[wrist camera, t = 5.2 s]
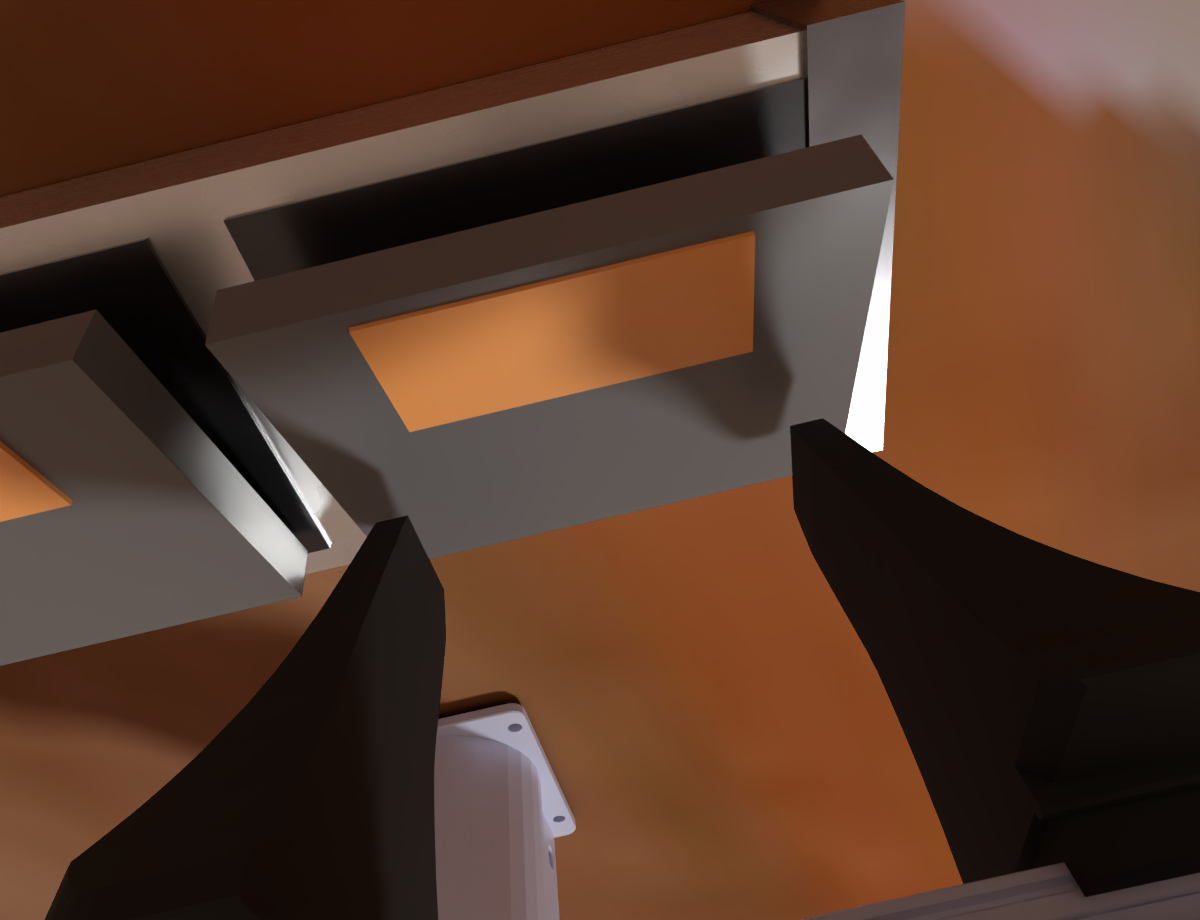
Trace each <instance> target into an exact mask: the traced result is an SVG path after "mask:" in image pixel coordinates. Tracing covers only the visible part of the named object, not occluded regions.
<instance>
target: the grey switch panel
mask: <svg viewBox="0 0 1200 920" xmlns="http://www.w3.org/2000/svg"><path fill="white" fill-rule="evenodd" d="M904 15H905V1H902V0H771V1H767V2H762V3H758V4H754V5H751V11H750V12H746V13H742V14H738V15H734V16H730V17H726V18H722V19H718V20H714V21H710V22H706V23H702V24H698V25H694V26H689V27H685V28H681V29H677V30H673V31H669V32H665V33H661V34H657V35H653V36H649V37H645V38H641V39H637V40H633V41H629V42H625V43H621V44H617V45H613V46H609V47H605V48H601V49H596V50H592V51H588V52H584V53H580V54H576V55H572V56H568V57H564V58H560V59H556V60H552V61H548V62H544V63H540V64H536V65H532V66H528V67H524V68H520V69H516V70H512V71H508V72H503V73H499V74H495V75H491V76H487V77H483V78H479V79H475V80H471V81H467V82H463V83H459V84H455V85H451V86H447V87H443V88H439V89H435V90H431V91H427V92H423V93H419V94H415V95H410V96H406V97H402V98H398V99H394V100H390V101H386V102H382V103H378V104H374V105H370V106H366V107H362V108H358V109H354V110H350V111H346V112H342V113H338V114H334V115H330V116H326V117H322V118H317V119H313V120H309V121H305V122H301V123H297V124H293V125H289V126H285V127H281V128H277V129H273V130H269V131H265V132H261V133H257V134H253V135H249V136H245V137H241V138H237V139H233V140H229V141H224V142H220V143H216V144H212V145H208V146H204V147H200V148H196V149H192V150H188V151H184V152H180V153H176V154H172V155H168V156H164V157H160V158H156V159H152V160H148V161H144V162H140V163H135V164H131V165H127V166H123V167H119V168H115V169H111V170H107V171H103V172H99V173H95V174H91V175H87V176H83V177H79V178H75V179H71V180H67V181H63V182H59V183H55V184H51V185H47V186H42V187H38V188H34V189H30V190H26V191H22V192H18V193H14V194H10V195H6V196H2V197H0V333H1V332H5V331H9V330H14V329H18V328H22V327H26V326H30V325H34V324H38V323H42V322H47V321H51V320H55V319H59V318H63V317H67V316H71V315H75V314H80V313H84V312H88V311H92V310H97V311H98V312H99V313H100V314H101V315H102V317H103V318H104V319H105V320H106V321H107V322H108V323H109V325H110V326H111V327H112V328H113V329H114V330H115V331H116V333H117V334H118V335H119V336H120V337H121V338H122V339H123V341H124V342H125V343H126V344H127V345H128V346H129V347H130V349H131V350H132V351H133V352H134V353H135V354H136V355H137V357H138V358H139V359H140V360H141V361H142V362H143V363H144V365H145V366H146V367H147V368H148V369H149V370H150V371H151V373H152V374H153V375H154V376H155V377H156V378H157V379H158V381H159V382H160V383H161V384H162V385H163V386H164V387H165V389H166V390H167V391H168V392H169V393H170V394H171V395H172V397H173V398H174V399H175V400H176V401H177V402H178V403H179V405H180V406H181V407H182V408H183V409H184V410H185V411H186V413H187V414H188V415H189V416H190V417H191V418H192V419H193V421H194V422H195V423H196V424H197V425H198V426H199V427H200V429H201V430H202V431H203V432H204V433H205V434H206V435H207V437H208V438H209V439H210V440H211V441H212V442H213V443H214V444H215V446H216V447H217V448H218V449H219V450H220V451H221V452H222V454H223V455H224V456H225V457H226V458H227V459H228V460H229V462H230V463H231V464H232V465H233V466H234V467H235V468H236V470H237V471H238V472H239V473H240V474H241V475H242V476H243V478H244V479H245V480H246V481H247V482H248V483H249V484H250V486H251V487H252V488H253V489H254V490H255V491H256V492H257V494H258V495H259V496H260V497H261V498H262V499H263V500H264V502H265V503H266V504H267V505H268V506H269V507H270V508H271V510H272V511H273V512H274V513H275V514H276V515H277V516H278V518H279V519H280V520H281V521H282V522H283V523H284V524H285V526H286V527H287V528H288V529H289V530H290V531H291V532H292V534H293V535H294V536H295V537H296V538H297V539H298V540H299V542H300V543H301V544H302V545H303V546H304V547H305V548H306V550H307V551H308V552H307V560H306V568H305V574H309V573H313V572H317V571H322V570H326V569H330V568H335V567H339V566H343V565H348V564H350V563H351V562H352V560H353V558H354V557H355V555H356V553H357V552H358V550H359V549H360V547H361V545H362V544H363V542H364V541H365V539H366V537H367V536H366V535H365V534H364V533H363V532H362V531H361V529H360V528H359V527H358V526H357V525H356V523H355V522H354V521H353V520H352V519H351V517H350V516H349V515H348V514H347V513H346V512H345V510H344V509H343V508H342V507H341V506H340V504H339V503H338V502H337V501H336V500H335V498H334V497H333V496H332V495H331V494H330V493H329V491H328V490H327V489H326V488H325V487H324V485H323V484H322V483H321V482H320V481H319V479H318V478H317V477H316V476H315V475H314V474H313V472H312V471H311V470H310V469H309V468H308V466H307V465H306V464H305V463H304V462H303V461H302V459H301V458H300V457H299V456H298V455H297V453H296V452H295V451H294V450H293V449H292V447H291V446H290V445H289V444H288V443H287V442H286V440H285V439H284V438H283V437H282V436H281V434H280V433H279V432H278V431H277V430H276V428H275V427H274V426H273V425H272V424H271V423H270V421H269V420H268V419H267V418H266V417H265V415H264V414H263V413H262V412H261V411H260V409H259V408H258V407H257V406H256V405H255V404H254V402H253V401H252V400H251V399H250V398H249V396H248V395H247V394H246V393H245V392H244V390H243V389H242V388H241V387H240V386H239V385H238V383H237V382H236V381H235V380H234V379H233V377H232V376H231V375H230V374H229V373H228V372H227V370H226V369H225V368H224V367H223V366H222V364H221V363H220V362H219V361H218V360H217V358H216V357H215V356H214V355H213V354H212V353H211V351H210V350H209V349H208V348H207V347H206V345H205V343H206V338H207V334H208V329H209V324H210V320H211V315H212V311H213V306H214V302H215V297H216V292H217V290H220V289H224V288H228V287H232V286H236V285H240V284H245V283H249V282H253V281H257V280H261V279H265V278H269V277H274V276H278V275H282V274H286V273H290V272H294V271H298V270H302V269H307V268H311V267H315V266H319V265H323V264H327V263H331V262H336V261H340V260H344V259H348V258H352V257H356V256H360V255H364V254H369V253H373V252H377V251H381V250H385V249H389V248H393V247H397V246H402V245H406V244H410V243H414V242H418V241H422V240H426V239H431V238H435V237H439V236H443V235H447V234H451V233H455V232H459V231H464V230H468V229H472V228H476V227H480V226H484V225H488V224H493V223H497V222H501V221H505V220H509V219H513V218H517V217H521V216H526V215H530V214H534V213H538V212H542V211H546V210H550V209H555V208H559V207H563V206H567V205H571V204H575V203H579V202H583V201H588V200H592V199H596V198H600V197H604V196H608V195H612V194H616V193H621V192H625V191H629V190H633V189H637V188H641V187H645V186H650V185H654V184H658V183H662V182H666V181H670V180H674V179H678V178H683V177H687V176H691V175H695V174H699V173H703V172H707V171H712V170H716V169H720V168H724V167H728V166H732V165H736V164H740V163H745V162H749V161H753V160H757V159H761V158H765V157H769V156H773V155H778V154H782V153H786V152H790V151H794V150H798V149H802V148H807V147H811V146H815V145H819V144H823V143H827V142H831V141H835V140H840V139H844V138H848V137H852V136H856V135H860V134H861V135H862V136H863V137H864V139H865V140H866V141H867V143H868V144H869V146H870V147H871V148H872V150H873V151H874V152H875V154H876V155H877V157H878V158H879V159H880V161H881V162H882V164H883V165H884V166H885V168H886V169H887V170H888V172H889V173H890V175H891V176H892V177H893V179H894V182H893V187H892V192H891V197H890V203H889V208H888V213H887V218H886V223H885V229H884V234H883V239H882V244H881V249H880V255H879V260H878V265H877V270H876V275H875V281H874V286H873V291H872V296H871V301H870V306H869V312H868V317H867V322H866V327H865V332H864V338H863V343H862V348H861V353H860V358H859V364H858V369H857V374H856V379H855V384H854V389H853V395H852V400H851V405H850V410H849V415H848V421H847V426H846V431H845V434H846V435H848V436H849V437H851V438H852V439H853V440H855V441H856V442H858V443H859V444H860V445H862V446H863V447H865V448H866V449H868V450H869V451H871V452H876V451H880V450H883V433H884V413H885V393H886V373H887V353H888V333H889V313H890V294H891V274H892V254H893V234H894V214H895V194H896V174H897V154H898V134H899V114H900V95H901V75H902V55H903V35H904Z"/></svg>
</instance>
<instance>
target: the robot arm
mask: <svg viewBox="0 0 1200 920" xmlns="http://www.w3.org/2000/svg"><path fill="white" fill-rule="evenodd" d="M790 436H791V457H792V477H793V498H794V510H795V512H796V515H797V518H798V520H799V523H800V525H801V528H802V530H803V533H804V535H805V538H806V540H807V542H808V545H809V547H810V550H811V552H812V554H813V556H814V558H815V560H816V562H817V564H818V565H819V567H820V569H821V571H822V572H823V574H824V576H825V578H826V580H827V581H828V583H829V585H830V587H831V589H832V590H833V592H834V594H835V596H836V597H837V599H838V601H839V603H840V604H841V606H842V608H843V610H844V611H845V613H846V615H847V617H848V618H849V620H850V622H851V624H852V625H853V627H854V629H855V631H856V632H857V634H858V636H859V638H860V639H861V641H862V643H863V645H864V646H865V648H866V650H867V652H868V654H869V656H870V658H871V660H872V662H873V664H874V666H875V668H876V669H877V671H878V674H879V676H880V678H881V680H882V683H883V685H884V687H885V690H886V692H887V694H888V696H889V699H890V701H891V703H892V706H893V708H894V710H895V712H896V715H897V717H898V719H899V722H900V724H901V726H902V729H903V731H904V734H905V736H906V738H907V741H908V743H909V746H910V748H911V750H912V753H913V755H914V758H915V760H916V762H917V765H918V767H919V770H920V772H921V775H922V777H923V780H924V782H925V785H926V787H927V790H928V792H929V795H930V797H931V800H932V802H933V805H934V808H935V810H936V813H937V815H938V818H939V820H940V823H941V825H942V828H943V830H944V833H945V836H946V838H947V841H948V844H949V846H950V849H951V852H952V855H953V857H954V860H955V863H956V865H957V868H958V871H959V873H960V876H961V879H962V881H963V884H961V885H957V886H952V887H948V888H943V889H938V890H934V891H929V892H925V893H920V894H915V895H911V896H906V897H902V898H897V899H892V900H888V901H883V902H879V903H874V904H869V905H865V906H860V907H856V908H851V909H846V910H842V911H837V912H833V913H828V914H823V915H819V916H814V917H810V918H805V919H800V920H1200V592H1196V591H1192V590H1188V589H1184V588H1180V587H1176V586H1172V585H1168V584H1164V583H1160V582H1156V581H1152V580H1149V579H1145V578H1142V577H1138V576H1135V575H1132V574H1129V573H1125V572H1122V571H1119V570H1116V569H1112V568H1109V567H1106V566H1102V565H1099V564H1097V563H1094V562H1091V561H1088V560H1085V559H1082V558H1079V557H1076V556H1073V555H1070V554H1068V553H1065V552H1063V551H1060V550H1057V549H1055V548H1052V547H1049V546H1047V545H1044V544H1042V543H1039V542H1036V541H1034V540H1031V539H1029V538H1027V537H1024V536H1022V535H1019V534H1017V533H1015V532H1012V531H1010V530H1008V529H1006V528H1004V527H1002V526H999V525H997V524H995V523H993V522H991V521H989V520H987V519H984V518H982V517H980V516H978V515H976V514H974V513H972V512H970V511H968V510H966V509H964V508H962V507H960V506H958V505H956V504H955V503H953V502H951V501H949V500H947V499H946V498H944V497H942V496H940V495H939V494H937V493H935V492H933V491H931V490H930V489H928V488H926V487H924V486H923V485H921V484H920V483H918V482H916V481H915V480H913V479H912V478H910V477H908V476H907V475H905V474H904V473H902V472H901V471H899V470H898V469H896V468H894V467H893V466H891V465H890V464H888V463H887V462H885V461H884V460H882V459H881V458H879V457H878V456H876V455H875V454H873V453H872V452H871V451H869V450H868V449H866V448H865V447H863V446H862V445H860V444H859V443H858V442H856V441H855V440H853V439H852V438H851V437H849V436H848V435H846V434H845V433H844V432H842V431H841V430H839V429H838V428H836V427H835V426H834V425H832V424H831V423H829V422H828V421H826V420H825V419H823V418H822V419H817V420H813V421H809V422H804V423H800V424H796V425H792V426H790ZM445 643H446V625H445V601H444V589H443V587H442V585H441V583H440V581H439V578H438V576H437V574H436V572H435V570H434V568H433V566H432V564H431V562H430V560H429V558H428V556H427V554H426V552H425V550H424V548H423V546H422V544H421V541H420V539H419V537H418V535H417V533H416V531H415V529H414V527H413V525H412V523H411V521H410V519H409V517H408V515H407V516H402V517H398V518H394V519H389V520H385V521H381V522H377V523H375V525H374V527H373V528H372V530H371V531H370V533H369V534H368V536H367V537H366V539H365V541H364V542H363V544H362V545H361V547H360V549H359V550H358V552H357V553H356V555H355V557H354V558H353V560H352V562H351V563H350V565H349V566H348V568H347V570H346V571H345V573H344V574H343V576H342V578H341V579H340V581H339V582H338V584H337V586H336V587H335V589H334V590H333V592H332V593H331V595H330V596H329V598H328V599H327V601H326V602H325V604H324V606H323V607H322V609H321V610H320V612H319V613H318V614H317V616H316V617H315V619H314V620H313V621H312V623H311V624H310V626H309V627H308V628H307V630H306V631H305V633H304V634H303V635H302V637H301V638H300V640H299V641H298V642H297V644H296V645H295V647H294V648H293V649H292V651H291V652H290V653H289V655H288V656H287V657H286V659H285V660H284V661H283V662H282V664H281V665H280V666H279V667H278V669H277V670H276V671H275V672H274V674H273V675H272V676H271V677H270V678H269V680H268V681H267V682H266V683H265V684H264V685H263V687H262V688H261V689H260V690H259V691H258V692H257V694H256V695H255V696H254V697H253V698H252V699H251V701H250V702H249V703H248V704H247V705H246V706H245V707H244V708H243V709H242V710H241V711H240V712H239V714H238V715H237V716H236V717H235V718H234V719H233V720H232V721H231V722H230V723H229V724H228V725H227V726H226V727H225V728H224V729H223V730H222V731H221V732H220V733H219V734H218V735H217V736H216V737H215V738H214V739H213V740H212V741H211V742H210V743H209V745H208V746H207V747H206V748H205V749H204V750H203V751H202V752H201V753H200V754H199V755H197V756H196V757H195V758H194V759H193V760H192V761H191V762H190V763H189V764H188V765H187V766H186V767H185V768H184V769H183V770H181V771H180V772H179V773H178V774H177V775H176V776H175V777H174V778H173V779H172V780H170V781H169V782H168V783H167V784H166V785H165V786H164V787H163V788H161V789H160V790H159V791H158V792H157V793H156V794H155V795H154V796H152V797H151V798H150V799H149V800H148V801H147V802H145V803H144V804H143V805H142V806H141V807H140V808H138V809H137V810H136V811H135V812H134V813H132V814H131V815H130V816H129V817H127V818H126V819H125V820H124V821H122V822H121V823H120V824H119V825H117V826H116V827H115V828H114V829H112V830H111V831H110V832H109V833H107V834H106V835H105V836H104V837H102V838H101V839H100V840H99V841H97V842H96V843H95V844H94V845H92V846H91V847H90V848H89V849H87V850H86V851H85V852H83V853H82V854H81V855H79V856H78V857H77V858H76V859H74V860H73V861H72V862H71V863H70V865H69V867H68V869H67V871H66V873H65V875H64V878H63V880H62V882H61V884H60V887H59V889H58V891H57V893H56V896H55V898H54V900H53V902H52V905H51V907H50V909H49V911H48V914H47V916H46V918H45V920H559V906H558V891H557V876H556V861H555V846H554V838H555V837H560V836H564V835H568V834H571V833H572V832H574V830H575V829H576V825H575V819H574V816H573V814H572V812H571V810H570V808H569V805H568V803H567V801H566V799H565V797H564V794H563V792H562V790H561V788H560V786H559V784H558V781H557V779H556V777H555V775H554V773H553V770H552V768H551V766H550V764H549V762H548V759H547V757H546V755H545V753H544V751H543V748H542V746H541V744H540V742H539V740H538V738H537V735H536V733H535V731H534V729H533V727H532V724H531V722H530V720H529V718H528V716H527V713H526V711H525V709H524V708H523V707H522V706H521V705H519V704H516V703H507V704H503V705H499V706H494V707H490V708H485V709H481V710H476V711H472V712H467V713H463V714H459V715H454V716H450V717H445V718H441V719H438V717H439V707H440V697H441V687H442V677H443V666H444V655H445Z"/></svg>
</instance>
